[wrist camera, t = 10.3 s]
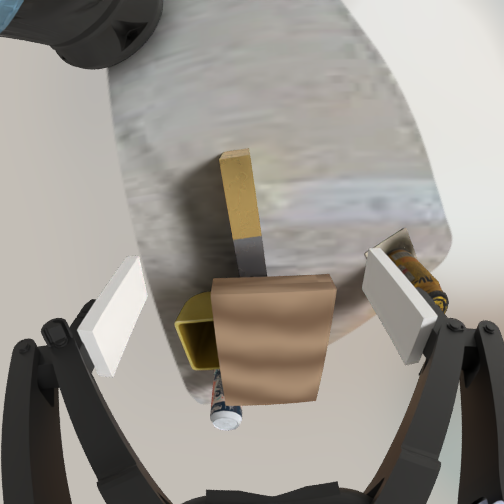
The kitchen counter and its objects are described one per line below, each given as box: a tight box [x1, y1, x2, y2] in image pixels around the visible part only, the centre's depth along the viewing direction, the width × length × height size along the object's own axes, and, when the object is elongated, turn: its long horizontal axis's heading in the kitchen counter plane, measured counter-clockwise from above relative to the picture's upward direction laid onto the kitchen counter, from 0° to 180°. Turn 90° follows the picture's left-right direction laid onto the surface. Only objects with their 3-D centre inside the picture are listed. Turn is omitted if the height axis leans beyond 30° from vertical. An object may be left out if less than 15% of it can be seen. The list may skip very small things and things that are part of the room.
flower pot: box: [174, 292, 220, 370], centre depth 39 cm, size 9×9×9 cm
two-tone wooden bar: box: [219, 148, 267, 278], centre depth 36 cm, size 27×3×7 cm, turn 8°
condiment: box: [365, 228, 449, 314], centre depth 35 cm, size 7×8×12 cm
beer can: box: [210, 369, 242, 431], centre depth 43 cm, size 5×5×12 cm
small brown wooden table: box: [211, 274, 337, 406], centre depth 37 cm, size 18×12×12 cm, turn 1°
